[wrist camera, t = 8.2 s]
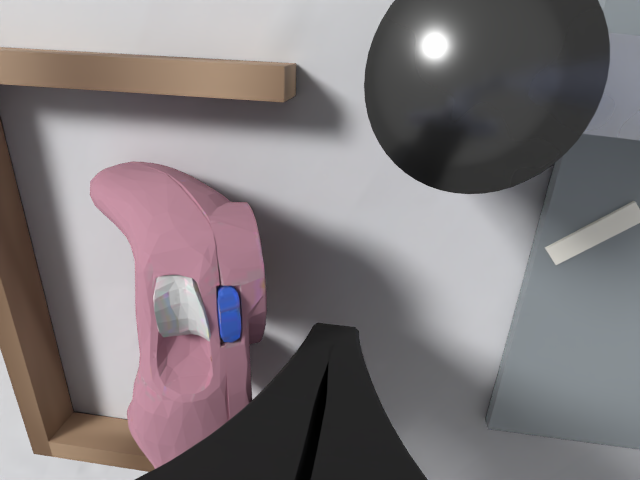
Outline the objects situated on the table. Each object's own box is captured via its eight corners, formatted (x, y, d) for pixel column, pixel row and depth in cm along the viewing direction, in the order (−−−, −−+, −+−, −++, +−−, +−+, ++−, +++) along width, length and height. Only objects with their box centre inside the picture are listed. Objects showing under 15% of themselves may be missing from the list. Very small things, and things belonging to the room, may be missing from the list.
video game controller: (250, 384, 18) (297, 559, 12) (131, 406, 17) (117, 616, 11) (249, 146, 14) (317, 232, 8) (90, 148, 13) (32, 256, 7)
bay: (296, 63, 12) (284, 66, 10) (288, 457, 18) (280, 491, 16) (-44, 44, 13) (-96, 44, 11) (59, 423, 19) (33, 453, 17)
